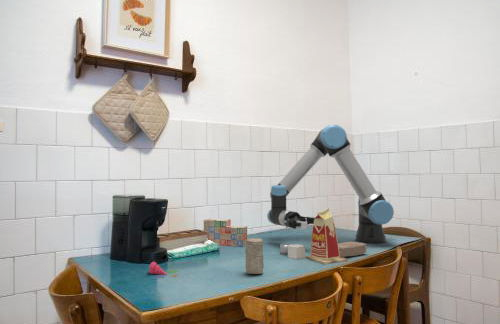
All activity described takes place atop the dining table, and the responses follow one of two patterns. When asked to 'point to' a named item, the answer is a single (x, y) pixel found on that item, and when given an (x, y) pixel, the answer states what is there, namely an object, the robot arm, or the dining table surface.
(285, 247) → the grey tin
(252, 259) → the carving
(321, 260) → the plate
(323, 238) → the milk carton
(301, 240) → the dining table surface
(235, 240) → the stack of blocks
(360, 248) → the brick
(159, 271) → the toy pieces
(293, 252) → the white cube
